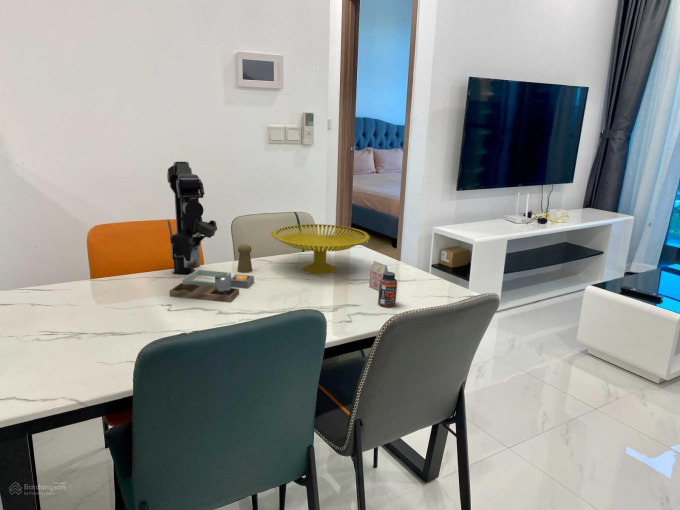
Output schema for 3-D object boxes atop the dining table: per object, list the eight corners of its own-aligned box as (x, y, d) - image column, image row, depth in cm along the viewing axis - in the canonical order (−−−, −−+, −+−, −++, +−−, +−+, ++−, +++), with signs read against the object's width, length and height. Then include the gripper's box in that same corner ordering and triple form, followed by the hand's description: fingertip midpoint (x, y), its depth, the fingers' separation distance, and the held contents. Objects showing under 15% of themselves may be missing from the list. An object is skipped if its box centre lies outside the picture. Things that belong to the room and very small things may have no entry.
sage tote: (182, 288, 182) (182, 280, 182) (198, 277, 195) (197, 269, 194) (217, 291, 181) (217, 283, 180) (231, 280, 193) (231, 272, 192)
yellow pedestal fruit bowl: (375, 261, 226) (377, 228, 222) (358, 290, 188) (360, 250, 184) (288, 252, 235) (289, 220, 231) (255, 278, 197) (255, 240, 193)
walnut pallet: (169, 299, 171) (169, 290, 171) (181, 291, 179) (180, 283, 178) (230, 305, 168) (230, 296, 168) (239, 296, 176) (239, 288, 175)
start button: (234, 285, 184) (234, 277, 183) (238, 282, 188) (238, 274, 187) (245, 286, 184) (245, 278, 183) (248, 283, 187) (248, 275, 187)
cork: (254, 270, 207) (254, 243, 204) (250, 274, 201) (250, 247, 198) (239, 269, 207) (239, 242, 204) (235, 273, 201) (234, 246, 198)
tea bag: (376, 285, 194) (378, 260, 192) (388, 290, 189) (390, 264, 187) (369, 287, 192) (370, 261, 190) (380, 292, 187) (382, 266, 184)
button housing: (228, 289, 183) (228, 280, 182) (235, 283, 190) (235, 274, 189) (247, 291, 182) (247, 281, 181) (253, 285, 189) (253, 275, 188)
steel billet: (181, 267, 173) (180, 247, 171) (188, 263, 178) (187, 244, 176) (196, 268, 172) (195, 248, 171) (202, 264, 177) (201, 245, 176)
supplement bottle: (384, 308, 171) (386, 276, 168) (374, 302, 176) (376, 271, 173) (398, 306, 174) (401, 274, 171) (389, 300, 179) (391, 269, 176)
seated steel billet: (212, 298, 171) (212, 278, 169) (218, 293, 175) (218, 274, 174) (227, 300, 170) (227, 280, 168) (233, 295, 175) (233, 275, 173)
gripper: (202, 220, 161) (203, 268, 165) (223, 210, 179) (224, 254, 183) (168, 218, 162) (170, 265, 166) (192, 208, 180) (194, 251, 184)
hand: (191, 259), depth 175 cm, fingers closed on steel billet, 5 cm apart
